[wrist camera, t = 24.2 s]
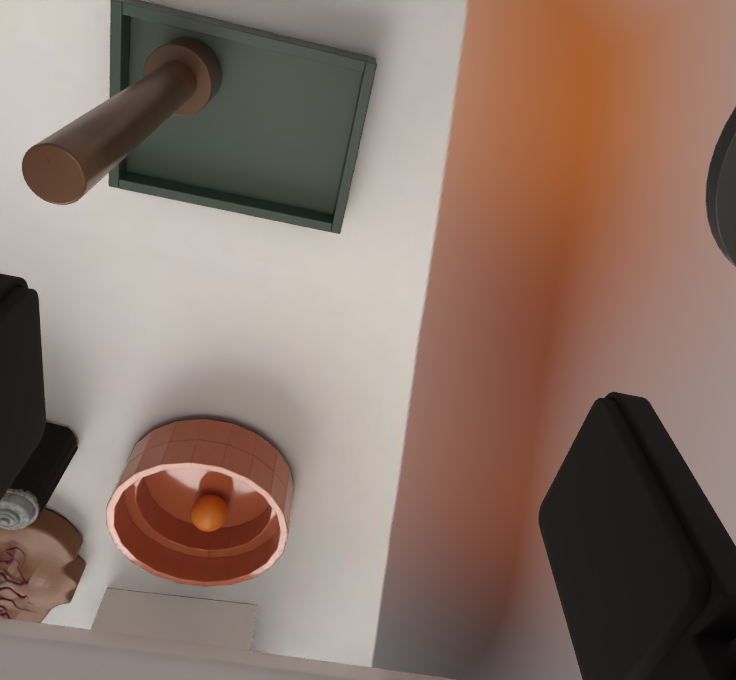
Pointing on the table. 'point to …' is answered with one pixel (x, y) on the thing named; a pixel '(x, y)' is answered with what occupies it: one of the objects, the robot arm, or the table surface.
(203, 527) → the ball
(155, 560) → the copper shallow cylinder
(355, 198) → the table surface
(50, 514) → the plant
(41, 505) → the camera
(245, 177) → the spoon tray
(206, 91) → the brown wooden rod
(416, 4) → the table surface
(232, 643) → the white figure sculpture
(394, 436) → the table surface
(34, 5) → the table surface
